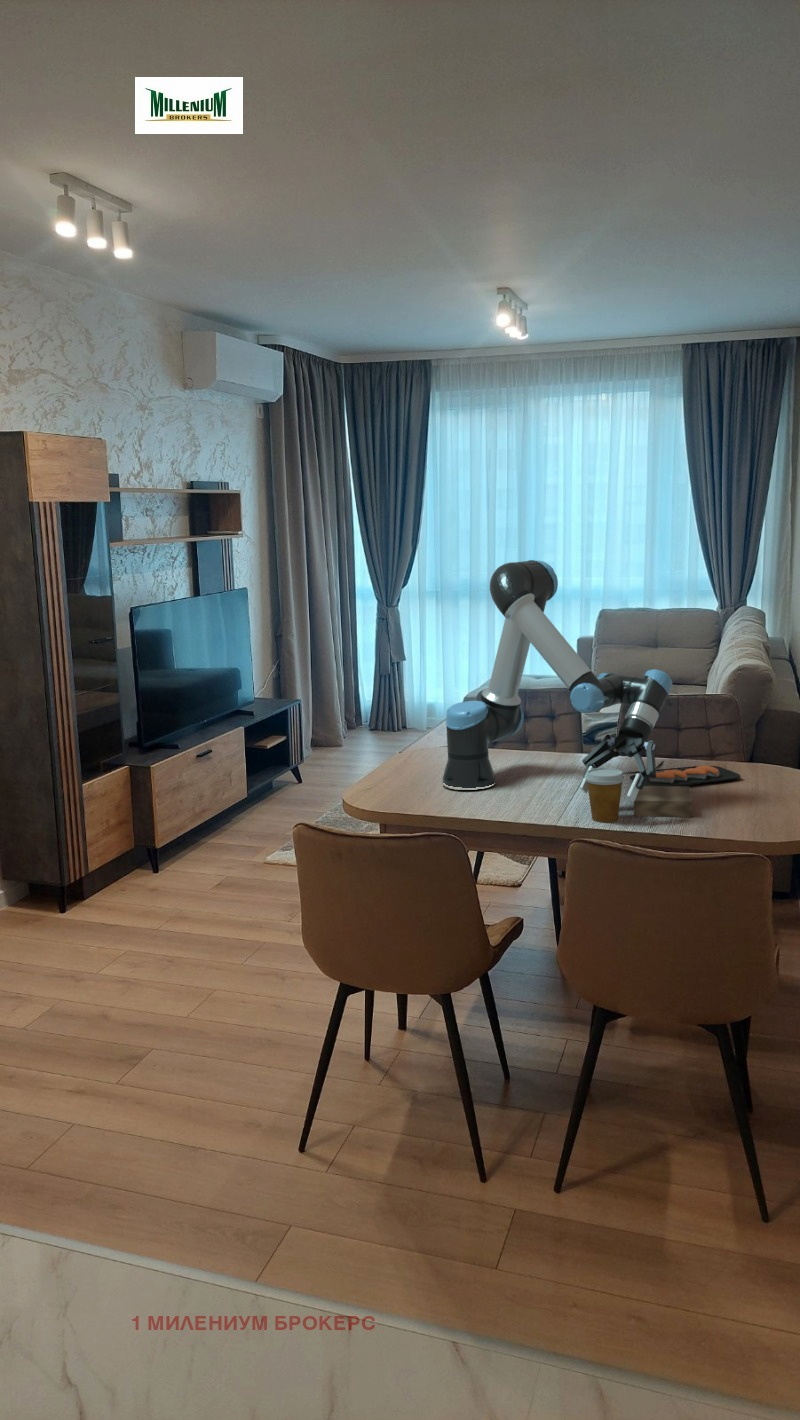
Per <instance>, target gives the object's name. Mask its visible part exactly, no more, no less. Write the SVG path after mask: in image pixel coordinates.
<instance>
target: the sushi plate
mask: <svg viewBox="0 0 800 1420" xmlns="http://www.w3.org/2000/svg"><path fill="white" fill-rule="evenodd" d="M663 762H664V763H665V760H662V761H660V763H659V764H657V766H656V777H655V778H652V777H651V778H648V779H647V780H646V782H645V784H644V786H681V787H687V786H692V785H701V783H702V784H707V783H708V784H710V783H717V782H722V781H723V782H724V781H730V780H731V781H732V780H736V779H740V778H741V774H739V773H737V772H735V771H733V770H730V769H727V768H724V767H721V766H717V765H695V766H694V765H693V766H684V767H683V766H682V767H670V768H661V769H658V768H660V767H661V766H662V765H663V764H664V763H663ZM646 770H647V771H648V769H646ZM639 771H640V770H638V771H628V772H627V771H626V772H622V773H623V775H626V774H629V775H630V774H632V775H630V776H629V778H630V780H631V781H632V782H633V781H634V778H635V776H636V774H637V773H638V774H640V775H641V773H640V772H639ZM709 782H710V783H709Z"/></svg>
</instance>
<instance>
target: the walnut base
mask: <svg viewBox="0 0 800 1420" xmlns="http://www.w3.org/2000/svg"><path fill="white" fill-rule="evenodd" d="M633 816H634V817H661V818H662V817H663V818H664V817H665V818H693V798H692V793H691V788H690V786H644V787H643V788H642V790H641V789H639V791H638V794H637V796H636V798H635V800H634V802H633Z"/></svg>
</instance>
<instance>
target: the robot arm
mask: <svg viewBox="0 0 800 1420" xmlns="http://www.w3.org/2000/svg"><path fill="white" fill-rule="evenodd" d="M489 581H490V582H489V591H490V595H491V599H492V601H493V603H494V605H495V606H496V608H497V610H498V611H499V613H501V614H502V616H503V617H504V618H505V619H504V623H503V626H502V630H501V634H500V639H499V642H498V647H497V651H496V654H495V659H494V663H493V668H492V672H491V677H490V681H489V685H488V687H487V688H485V689H484V690H482V691H481V695H480V700H465V701H461V702H457V703H455V704H452V705H450V706H449V707H448V709H447V710H446V720H445V726H446V744H447V745H446V746H447V747H446V748H447V762H446V764H445V768H444V771H443V775H442V784H443V783H445V784H446V785H448V786H453V787H462V788H476V787H485V786H489V785H492V784H494V783H495V782H496V775H495V772H494V769H493V767H492V764H491V761H490V757H489V744H491V743H494V742H497V741H500V740H505V739H508V738H510V737H512V736H513V735H515V734H516V733H518V732H519V731H520V729H521V728H522V725H523V722H524V718H525V717H524V714H525V713H524V710H523V707H522V705H521V703H522V700H521V699H522V698H521V697H520V696H519V689H520V687H521V686H520V685H521V681H522V677H523V673H524V670H525V664H526V661H527V659H528V654H529V650H530V647H531V645H532V646H533V647H534V649H535V650H536V651H537V653H539V654H540V656H541V658H542V659H543V660H544V661H545V662H546V663H547V665H548V666H549V667H550V668H551V670H552V671H553V672H554V673H555V675H557V677H558V678H559V679H560V680H561V682H562V683H563V685H565V686H566V688H567V689H568V690H569V691H570V697H569V698H570V701H571V705H572V707H573V708H574V709H575V710H576V712H579V713H582V714H588V713H595V712H598V711H600V710H602V709H605V708H608V707H613V706H616V705H617V704H618V705H619V704H622V705H629V708H628V710H627V712H626V714H625V717H624V719H623V720H622V723H621V725H620V727H619V730H618V735H617V736H616V737H613V736H611V735H610V734H605V736H604V737H603V739H602V741H600V743H599V744H598V745H597V746H596V747H594V749H592V750H591V751H590V752H589V753H588V754H586V756H585V757H584V758H583V759H582V760H581V762H582V763H583V765H584V766H585V769H584V772H583V775H582V778H583V780H582V782H581V783H580V786H579V788H580V790H581V791H582V792H583V793H584V794H587V793H589V792H588V785H587V781H586V779H585V776H586V774H587V771H588V770H591V769H595V768H601V766H603V765H605V764H607V762H609V761H611V760H612V759H614V758H617V757H628V758H632V757H633V758H634V760H635V762H636V763H635V764H636V765H637V767H638V771H639V772H640V773H635V775H636V776H635V778H634V781H633V780H632V783H631V786H630V788H629V789H628V793H627V794H626V797H627V798H628V799H629V801H630V802H631V803H634V800H635V798H636V796H637V794H638V791H639V789H641V790H642V788H643V787H644V784H645V782H646V780H647V779H648V778H651V777H652V778H655V777H656V772H657V771H656V770H657V769H656V767H657V766H656V756H655V755H656V750H657V745H656V744H655V742H654V741H653V740H652V739H650V737H651V734H652V731H653V729H654V727H655V725H656V723H657V721H658V719H659V715H660V714H661V711H662V709H663V707H664V705H665V703H666V702H667V699H668V697H669V696H670V691H671V689H672V688H673V687H672V686H673V680H672V678H671V677H670V675H669V674H668V673H666V672H665V671H663V670H660V669H655V668H652V669H648V670H646V672H645V674H643V677H641V676H631V675H624V674H618V673H614V672H610V673H609V672H602V673H599V674H598V675H597V676H596V674H595V673H594V672H593V671H592V670H591V669H590V667H588V665H587V664H586V662H584V660H583V659H582V658H581V656H580V655H579V654H578V653H577V651H575V649H574V648H573V647H572V645H571V644H570V643H569V642H568V641H567V640H566V638H565V637H564V635H562V633H561V632H560V631H559V630H558V629H557V628H556V626H555V625H554V624H553V623H552V621H551V619H549V618H548V616H547V615H546V614H545V608H546V605H547V602H548V601H550V600H551V599H552V598H553V597H554V596H556V595H555V594H556V593H557V591H558V587H559V580H558V575H557V573H556V572H555V570H554V568H553V567H552V565H550V564H549V563H547V562H545V561H543V560H535V559H529V560H524V561H514V562H506V563H504V564H502V565H500V566H498V567H497V568H496V569H495V571H494V572H493V574H492V576H491V577H490V580H489ZM649 739H650V740H649ZM615 750H616V751H615ZM643 750H646V763H647V768H646V765H645V763H644V760H643V757H642V755H641V752H642V751H643ZM647 770H648V771H647ZM640 774H641V775H640Z"/></svg>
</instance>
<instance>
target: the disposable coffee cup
mask: <svg viewBox="0 0 800 1420" xmlns="http://www.w3.org/2000/svg"><path fill="white" fill-rule="evenodd" d="M623 773H624V772H623V771H622V770H620V769H618V768H613V767H598V768H595V769H591V770H588V771H587V774H586V776H585V779H586V781H587V785H588V792H587V793H588V797H589V806H590V813H591V814H590V815H591V819H592V820H593V821H595V822H598V823H613V822H616V821H618V820H619V814H620V813H619V811H620V804H621V797H622V789H623V782H624V779H625V775H624V774H623Z"/></svg>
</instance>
